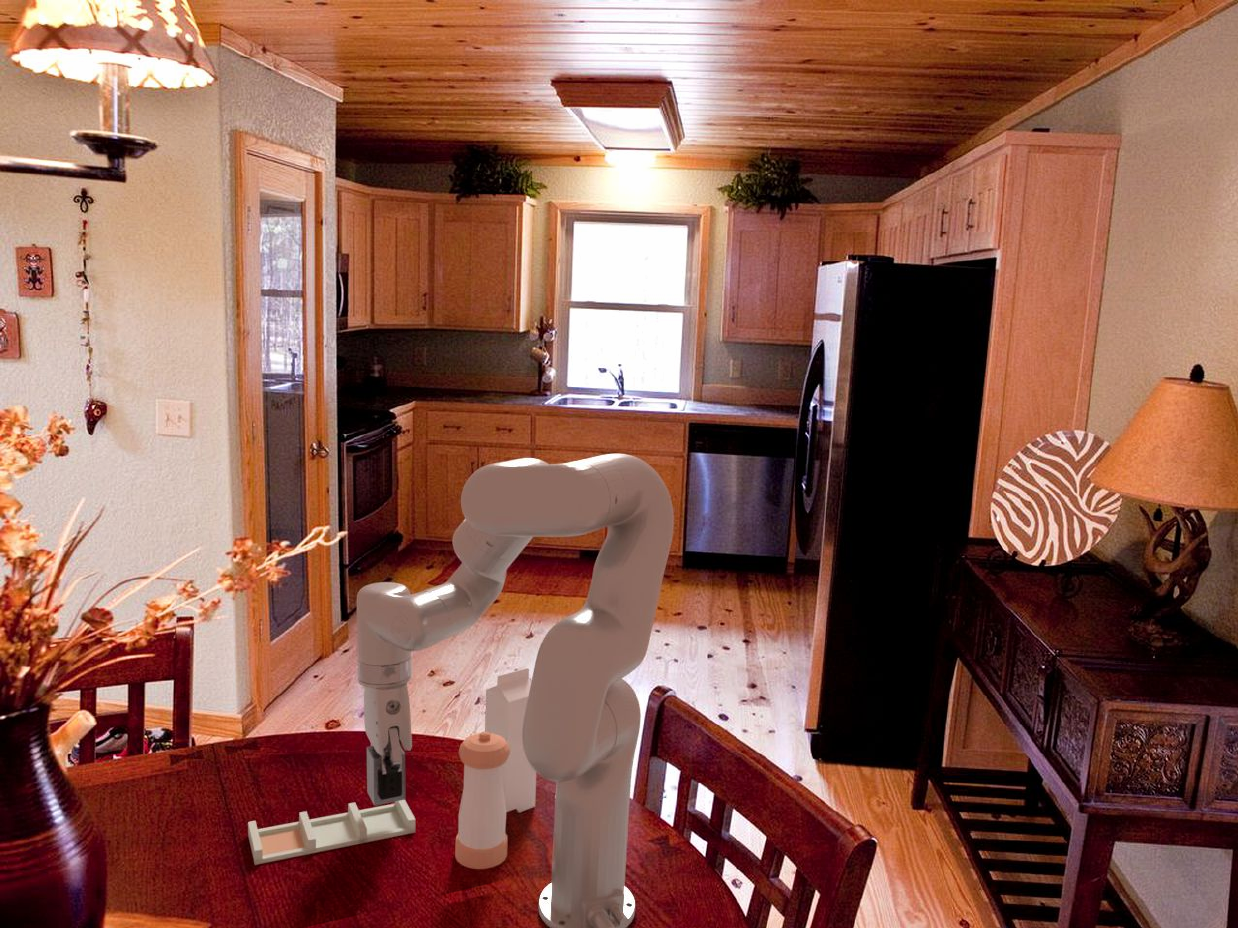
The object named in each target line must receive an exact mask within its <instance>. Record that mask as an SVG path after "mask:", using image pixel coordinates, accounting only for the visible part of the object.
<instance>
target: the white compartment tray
mask: <svg viewBox="0 0 1238 928" xmlns="http://www.w3.org/2000/svg"><path fill="white" fill-rule="evenodd" d="M347 806H348V807H347V811H348V812H343V813H338V814H337V813H336V814H332V815H326V816H321V817H317V818H315V817H314V818H311V819H310V817H309V814H308V811H307V810H306V811H301V812H299V813H298V815H299V816H298V821H295V822H290V823H283V824H278V825H273V826H268V827H263V828H258V826H257V821H256V820H252V821H251V820H250V821H248V822H247V826H248V827H247V833H248V834H247V836H248V840H249V844H250V849H251V854H252V858H253V863H254V866H257V865H260V864H266V863H270V862H275V861H280V860H281V861H282V860H286V859H290V858H294V857H295V858H296V857H300V856H306V855H311V854H315V853H320V852H321V853H322V852H325V851H326V852H327V851H330V850H331V851H332V850H335V849H340V848H345V847H350V846H354V845H360V844H364V843H370V842H374V841H380V840H385V839H390V838H393V837H398V836H399V837H400V836H404V835H408V834H414V833H416V818H415V815H414V814H413V812H412V810H411V809H410V808H411V807H409V805H408V803H407V801H406V799H405V800H400V801H395V802H394V803H391V804H387V805H385V804H384V805H378V806H374V807H370V808H364V809H359V808H358V806H357V804H356V802H350V803H348V805H347Z"/></svg>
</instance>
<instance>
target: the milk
mask: <svg viewBox="0 0 1238 928" xmlns="http://www.w3.org/2000/svg"><path fill="white" fill-rule="evenodd" d="M496 681H497V684H496V685H494V686H492V687H489V688H486V689H485V711H484V712H485V717H484V731H486V732H489V733H492V734H496V735H500V736H501V737H503V738H504V739H505V740H506V742H507V743H508V745H509V748H510V754H509V757H508V759H507V760H506V762H505V763H504V768H503V792H504V800H505V807H506V813H508V812H511V811H514V810H516V811H517V812H518V813H522V812H524V811H527V810H530V809H533V808H535V807H536V793H537V791H536V790H537V773H536V772H535V770H534V769H533V768H532V767H531V765H530V763H529V762H528V760H527V757H526V755H525V752H524V747H523V740H522V731H523V722H524V716H525V711H526V706H527V701H528V696H529V691H530V686H531V681H532V679H531V678H530V669H529V668H528V667H526V668H523V669H519V670H514V671H511V672H507V673H504V674H503V673H502V674H499V675H498V676H497V680H496Z"/></svg>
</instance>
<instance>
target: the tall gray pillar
mask: <svg viewBox="0 0 1238 928" xmlns="http://www.w3.org/2000/svg"><path fill="white" fill-rule="evenodd" d="M402 748H403V747H402V746H400V749H401V756H402V795H401V796H399V797H394V798H389V799H384V800H381V799H380V798H379V772H381V764H380V754H378V753H377V752H376V750H375V749H374V747H373V746H371V745H370V746H366V786H367V787H366V788H367V789H366V790H367V791H366V792H367V794H368V796H369V798H370V800H371V802H372V804H373V806H374V807H376V806H381V805H383V804H384V805H385V804H389V803H395V801H400V800H405V801H406V753H405V750H404V749H402ZM385 750H390V747H386V748H384V751H385ZM385 758H386V762H387V760H390V758H391V755H390V756H385Z"/></svg>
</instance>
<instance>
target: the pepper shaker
mask: <svg viewBox="0 0 1238 928" xmlns="http://www.w3.org/2000/svg"><path fill="white" fill-rule="evenodd" d="M509 754H510V748H509V745H508V743H507V742H506V740H505V739H504V738H503V737H501V736H500V735H496V734H492V733H489V732H486V731H485V730H484V731H481V732H479V733H475V734H471V735H469V736H467V737H466V738H465V739H464V740H463V741H462V743H461V744H460V747H459V749H458V755H459V758H460V760H461V762H462V764H464V765H463V766H464V767H463V791H462V794H461V799H460V805H459V811H458V833H457V834H456V837H455V853H454V854H455V855H454V856H455V857H454V858H455V860H456V862H457V863H459V864H460V865H461V866H464V867H466V868H469V869H475V870H486V869H489V868H490V869H491V868H495V867H496V866H499V865H502V863H503V862H504V861H505V860H506V859H507V856H508V834H507V833H506V827H507V826H506V824H507V812H506V807H505V800H504V792H503V768H504V763H505V762H506V760H507V759H508V757H509Z"/></svg>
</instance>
